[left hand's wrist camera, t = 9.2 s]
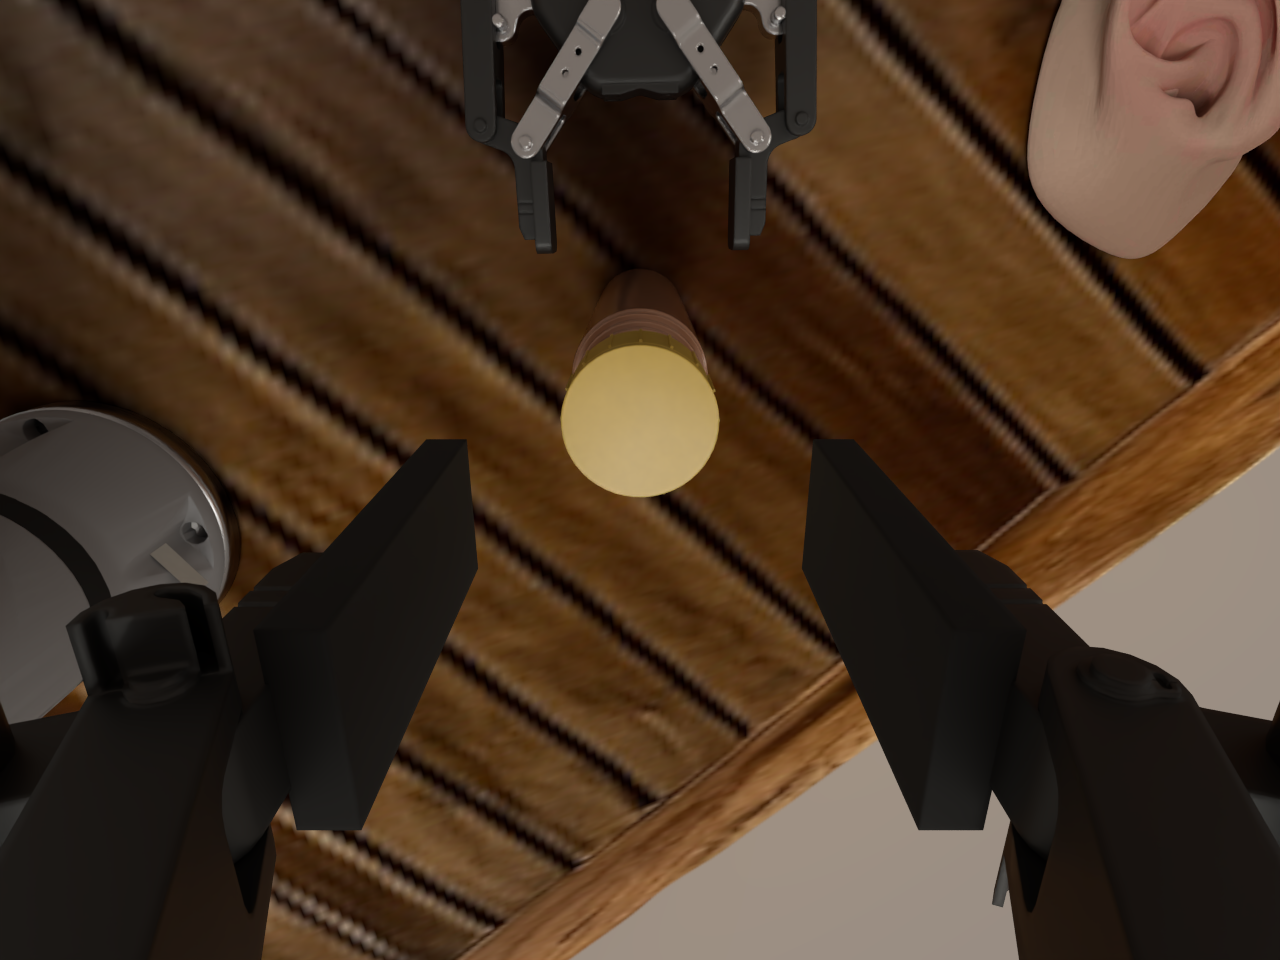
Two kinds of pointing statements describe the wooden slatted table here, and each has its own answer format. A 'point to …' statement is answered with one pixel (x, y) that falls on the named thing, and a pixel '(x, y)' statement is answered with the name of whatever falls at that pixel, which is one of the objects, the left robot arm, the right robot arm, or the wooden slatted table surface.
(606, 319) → the bottle
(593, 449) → the cap
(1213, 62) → the anatomical model
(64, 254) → the wooden slatted table surface
